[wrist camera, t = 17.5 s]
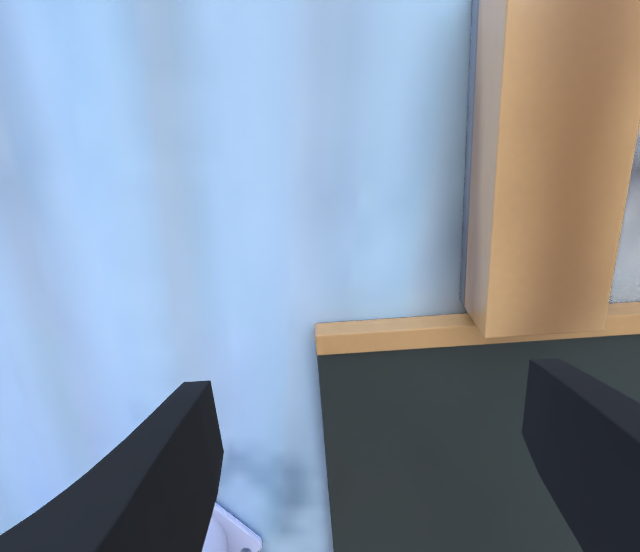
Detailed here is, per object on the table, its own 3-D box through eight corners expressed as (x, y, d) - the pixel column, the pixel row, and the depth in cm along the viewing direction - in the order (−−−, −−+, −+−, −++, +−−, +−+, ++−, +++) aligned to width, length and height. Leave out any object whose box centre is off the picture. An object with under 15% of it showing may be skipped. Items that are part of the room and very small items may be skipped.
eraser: (458, 300, 21) (484, 339, 18) (472, -10, 17) (509, -31, 14) (560, 293, 21) (604, 331, 18) (601, -20, 17) (669, -43, 14)
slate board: (343, 663, 31) (344, 685, 30) (314, 323, 22) (314, 335, 21) (656, 646, 31) (669, 667, 30) (763, 292, 21) (787, 304, 20)
